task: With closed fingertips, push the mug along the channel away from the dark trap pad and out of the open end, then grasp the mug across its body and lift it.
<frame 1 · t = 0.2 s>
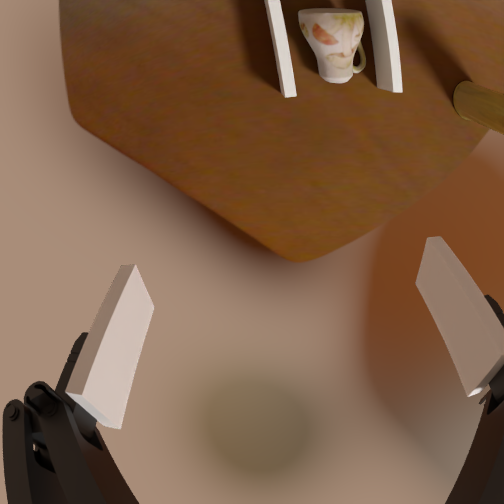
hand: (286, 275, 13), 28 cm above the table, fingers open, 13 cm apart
mug: (330, 44, 28), on the table
vase: (466, 99, 30), on the table
channel: (329, 43, 28), on the table
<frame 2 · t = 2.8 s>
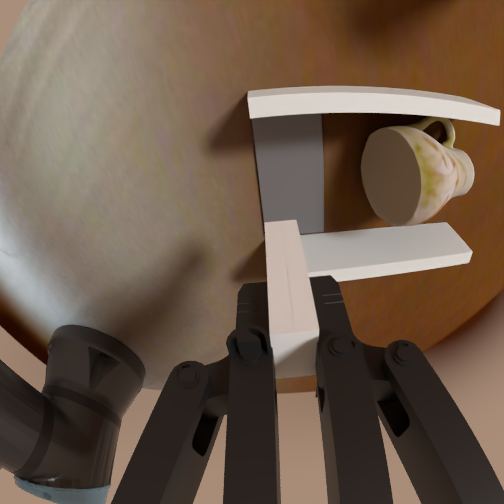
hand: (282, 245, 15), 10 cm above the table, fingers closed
mug: (410, 155, 21), on the table
channel: (402, 169, 22), on the table
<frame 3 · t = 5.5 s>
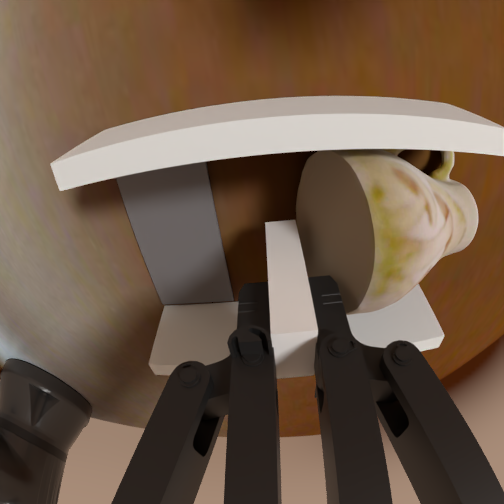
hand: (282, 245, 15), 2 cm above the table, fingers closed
mug: (382, 188, 15), on the table, touching gripper
channel: (344, 219, 16), on the table
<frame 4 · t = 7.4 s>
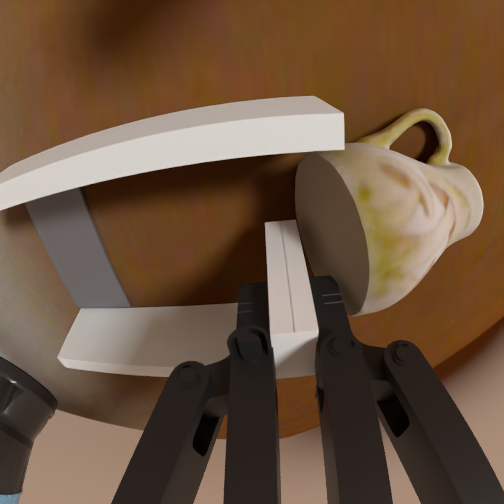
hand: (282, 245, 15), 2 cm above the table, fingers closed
mug: (381, 180, 15), on the table, touching gripper
channel: (209, 232, 16), on the table
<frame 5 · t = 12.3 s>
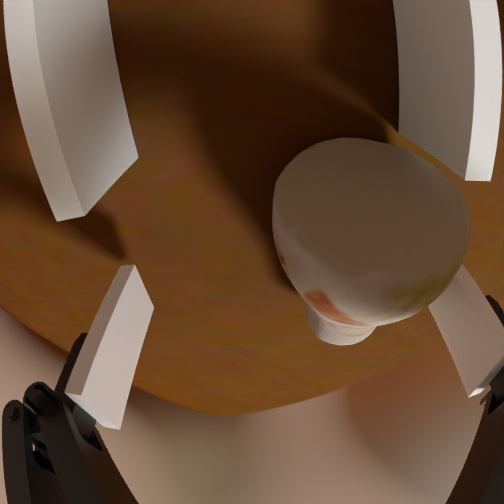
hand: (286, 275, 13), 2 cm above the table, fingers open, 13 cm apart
mug: (348, 228, 15), on the table, touching gripper
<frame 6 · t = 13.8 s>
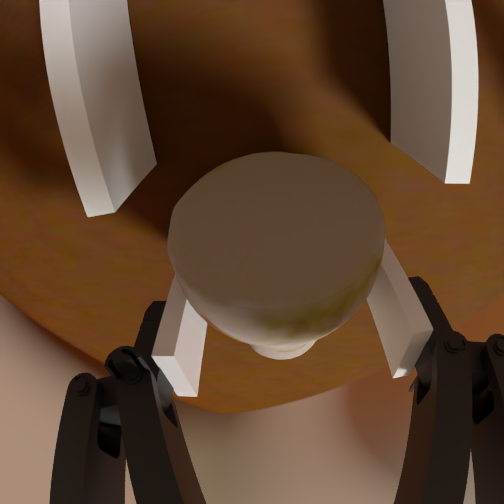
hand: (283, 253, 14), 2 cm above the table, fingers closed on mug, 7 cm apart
mug: (282, 241, 15), point 1 cm above the table, touching gripper
channel: (260, 20, 9), on the table
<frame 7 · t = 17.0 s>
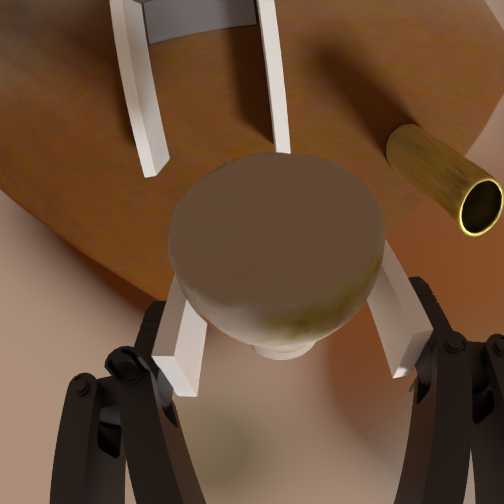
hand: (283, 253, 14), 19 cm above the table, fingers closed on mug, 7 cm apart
mug: (282, 242, 15), point 18 cm above the table, touching gripper
vase: (407, 148, 29), on the table
channel: (211, 96, 26), on the table
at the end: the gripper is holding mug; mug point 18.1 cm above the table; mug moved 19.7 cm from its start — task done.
